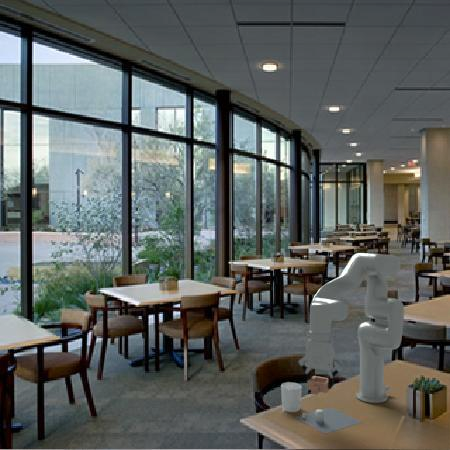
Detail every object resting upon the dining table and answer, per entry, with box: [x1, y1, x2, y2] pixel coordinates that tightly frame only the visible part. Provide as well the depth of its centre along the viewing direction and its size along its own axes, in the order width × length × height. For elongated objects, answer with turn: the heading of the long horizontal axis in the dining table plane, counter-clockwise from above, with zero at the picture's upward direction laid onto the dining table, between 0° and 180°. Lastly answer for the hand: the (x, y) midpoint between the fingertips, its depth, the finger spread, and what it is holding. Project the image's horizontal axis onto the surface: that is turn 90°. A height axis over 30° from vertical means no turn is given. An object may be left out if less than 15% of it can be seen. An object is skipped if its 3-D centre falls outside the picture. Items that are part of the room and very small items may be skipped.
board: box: [294, 407, 363, 435], centre depth 173 cm, size 18×16×5 cm
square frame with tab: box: [306, 375, 331, 396], centre depth 170 cm, size 10×7×3 cm
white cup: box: [280, 382, 303, 413], centre depth 184 cm, size 8×8×10 cm
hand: (319, 385), depth 171 cm, fingers closed on square frame with tab, 7 cm apart
